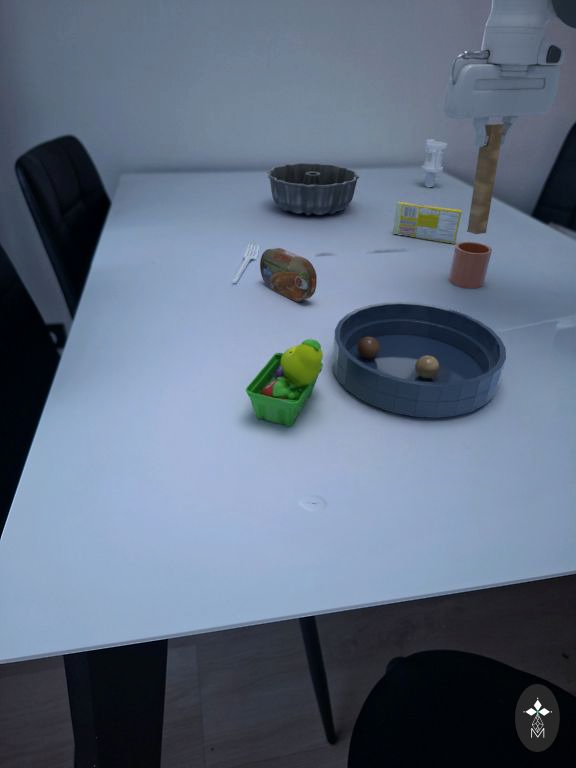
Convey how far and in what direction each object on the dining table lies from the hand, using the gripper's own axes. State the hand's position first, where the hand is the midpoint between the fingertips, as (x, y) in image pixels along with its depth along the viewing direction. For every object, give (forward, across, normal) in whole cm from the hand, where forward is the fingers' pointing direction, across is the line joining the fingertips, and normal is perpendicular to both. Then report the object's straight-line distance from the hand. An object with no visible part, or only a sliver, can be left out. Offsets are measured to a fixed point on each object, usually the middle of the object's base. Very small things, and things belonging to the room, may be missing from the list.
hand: (489, 145), depth 91 cm
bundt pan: (+29, -2, +68) cm, 74 cm away
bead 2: (+26, -23, -22) cm, 42 cm away
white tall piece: (+29, +48, +79) cm, 96 cm away
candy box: (+29, +15, +34) cm, 47 cm away
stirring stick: (+15, 0, -1) cm, 15 cm away
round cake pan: (+29, -23, -20) cm, 42 cm away
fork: (+29, -35, +30) cm, 55 cm away
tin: (+29, -31, +14) cm, 45 cm away
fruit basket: (+29, -45, -21) cm, 58 cm away
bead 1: (+26, -29, -14) cm, 41 cm away
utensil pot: (+29, +7, +6) cm, 30 cm away
